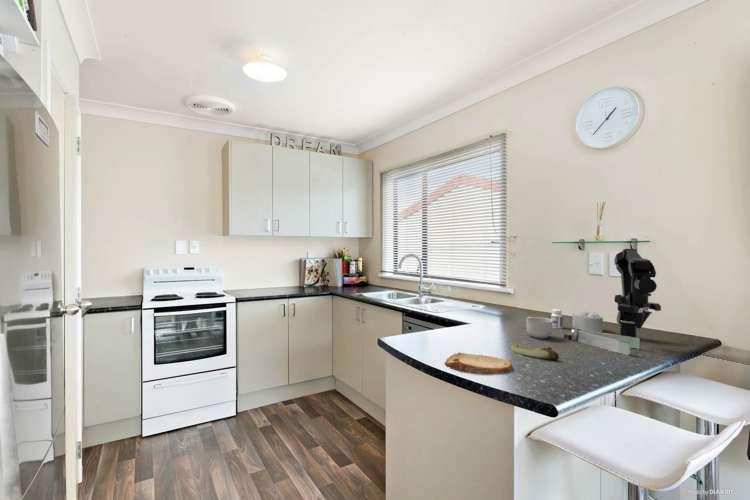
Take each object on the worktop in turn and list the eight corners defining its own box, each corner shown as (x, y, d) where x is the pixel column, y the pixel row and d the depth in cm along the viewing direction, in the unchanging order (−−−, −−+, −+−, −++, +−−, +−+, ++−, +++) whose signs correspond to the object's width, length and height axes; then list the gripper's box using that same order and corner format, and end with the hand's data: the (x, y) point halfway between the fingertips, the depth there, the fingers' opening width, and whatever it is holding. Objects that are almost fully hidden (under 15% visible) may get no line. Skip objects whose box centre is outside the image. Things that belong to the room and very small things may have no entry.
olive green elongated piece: (565, 358, 128) (565, 349, 128) (551, 364, 122) (551, 354, 122) (515, 347, 144) (515, 338, 144) (500, 351, 138) (500, 342, 138)
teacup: (556, 340, 153) (557, 322, 153) (531, 339, 153) (532, 321, 153) (542, 332, 167) (542, 315, 167) (519, 332, 167) (519, 315, 167)
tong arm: (580, 340, 154) (580, 330, 154) (580, 339, 154) (581, 329, 154) (639, 349, 141) (639, 338, 141) (639, 349, 142) (639, 337, 142)
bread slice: (518, 369, 116) (518, 358, 116) (485, 382, 104) (486, 369, 104) (472, 355, 130) (472, 345, 130) (439, 365, 118) (439, 354, 118)
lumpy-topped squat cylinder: (584, 326, 182) (585, 309, 182) (608, 332, 170) (609, 314, 170) (569, 327, 179) (569, 310, 179) (592, 333, 167) (593, 315, 166)
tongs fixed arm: (563, 338, 157) (563, 328, 157) (570, 337, 158) (570, 327, 158) (625, 355, 132) (625, 343, 132) (632, 354, 134) (632, 342, 134)
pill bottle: (560, 326, 181) (560, 309, 181) (564, 328, 176) (564, 311, 176) (549, 326, 181) (549, 308, 181) (553, 328, 176) (553, 310, 176)
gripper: (633, 287, 156) (632, 322, 156) (605, 288, 149) (604, 325, 149) (662, 290, 146) (661, 328, 146) (633, 292, 139) (632, 331, 139)
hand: (638, 328), depth 145 cm, fingers closed
